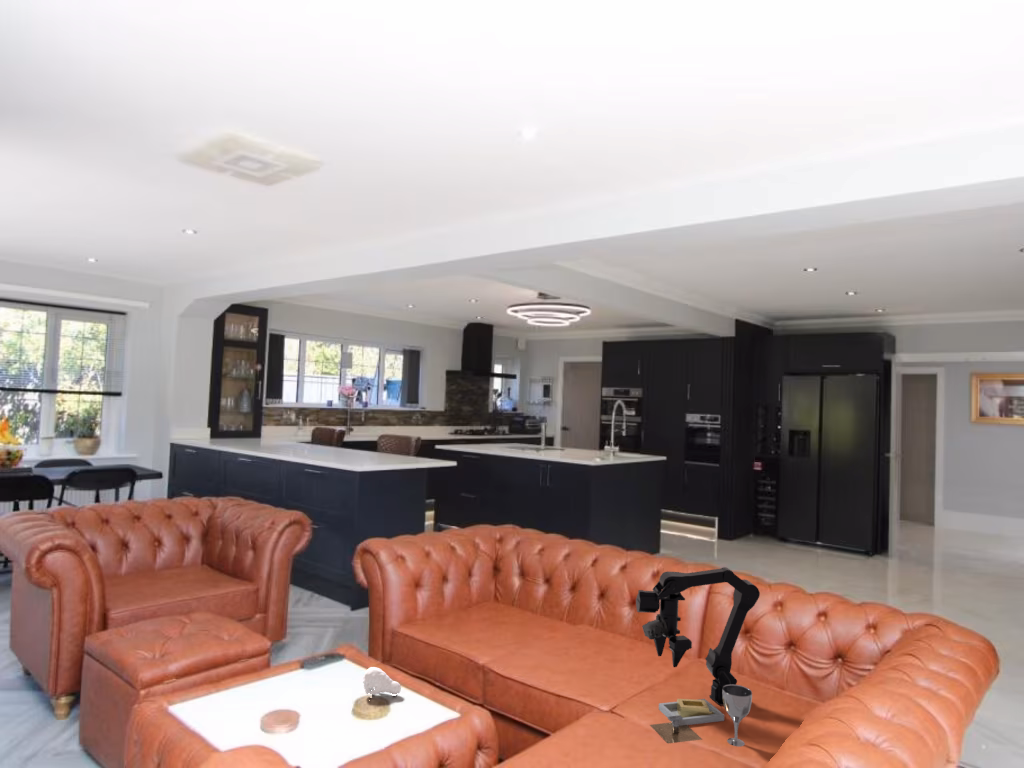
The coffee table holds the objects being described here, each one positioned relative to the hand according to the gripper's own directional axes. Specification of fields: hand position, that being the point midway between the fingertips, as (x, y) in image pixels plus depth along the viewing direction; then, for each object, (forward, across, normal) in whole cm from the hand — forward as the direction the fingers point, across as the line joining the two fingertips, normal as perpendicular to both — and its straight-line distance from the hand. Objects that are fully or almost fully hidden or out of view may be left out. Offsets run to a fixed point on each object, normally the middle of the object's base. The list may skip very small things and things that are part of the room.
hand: (667, 661), depth 222 cm
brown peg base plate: (+12, +20, -9) cm, 25 cm away
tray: (+12, +12, +1) cm, 17 cm away
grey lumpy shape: (+13, -26, -87) cm, 92 cm away
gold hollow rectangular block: (+12, +12, +2) cm, 17 cm away
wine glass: (+12, +30, +4) cm, 33 cm away
